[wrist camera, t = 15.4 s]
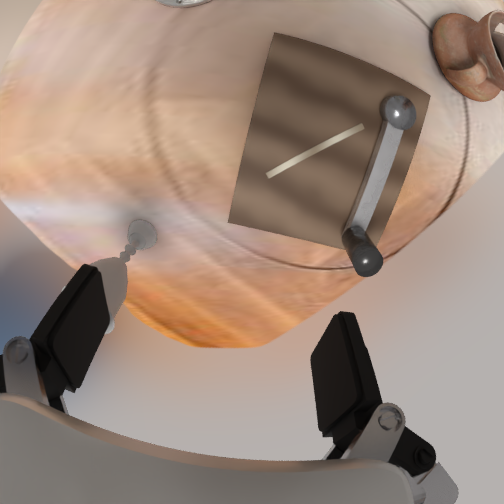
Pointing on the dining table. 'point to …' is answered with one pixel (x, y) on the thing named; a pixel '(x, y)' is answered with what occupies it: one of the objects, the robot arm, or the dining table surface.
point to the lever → (376, 185)
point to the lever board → (318, 143)
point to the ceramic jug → (471, 54)
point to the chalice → (123, 266)
